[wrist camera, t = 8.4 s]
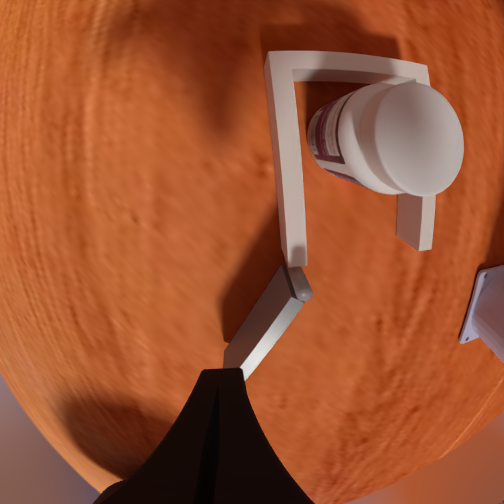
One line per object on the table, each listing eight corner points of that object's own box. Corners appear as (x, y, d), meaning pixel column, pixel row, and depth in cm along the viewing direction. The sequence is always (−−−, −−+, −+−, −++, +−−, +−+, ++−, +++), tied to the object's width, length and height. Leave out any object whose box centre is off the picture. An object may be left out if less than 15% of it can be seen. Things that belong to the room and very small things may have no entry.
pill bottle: (392, 145, 15) (486, 156, 8) (340, 193, 17) (415, 236, 9) (345, 85, 14) (423, 49, 6) (288, 133, 15) (333, 122, 7)
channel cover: (288, 250, 17) (302, 284, 13) (299, 256, 18) (315, 290, 13) (224, 349, 20) (221, 393, 16) (234, 353, 20) (232, 397, 16)
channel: (401, 73, 14) (426, 65, 11) (407, 234, 18) (431, 249, 15) (263, 67, 14) (268, 51, 11) (281, 247, 18) (288, 267, 15)
